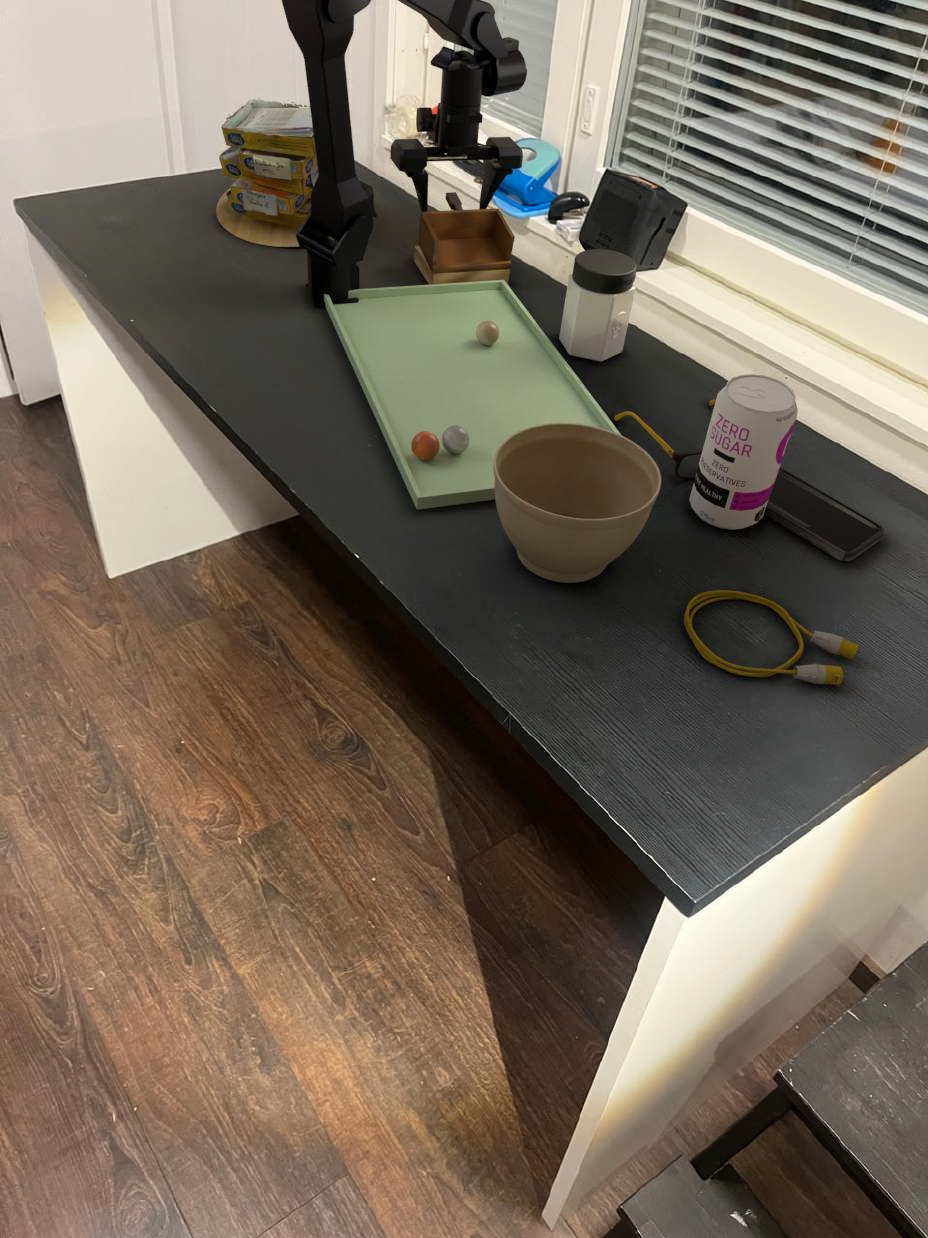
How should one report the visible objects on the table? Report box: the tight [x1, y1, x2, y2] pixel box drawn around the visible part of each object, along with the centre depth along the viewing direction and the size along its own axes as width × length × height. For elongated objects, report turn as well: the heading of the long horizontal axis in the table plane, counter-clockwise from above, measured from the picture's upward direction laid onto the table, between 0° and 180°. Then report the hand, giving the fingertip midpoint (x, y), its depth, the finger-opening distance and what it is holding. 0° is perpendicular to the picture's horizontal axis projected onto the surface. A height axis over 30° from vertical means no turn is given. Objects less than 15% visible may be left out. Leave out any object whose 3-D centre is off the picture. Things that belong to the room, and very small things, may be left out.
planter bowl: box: [493, 423, 662, 584], centre depth 95 cm, size 16×16×11 cm
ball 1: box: [411, 431, 440, 460], centre depth 107 cm, size 3×3×3 cm
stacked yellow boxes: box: [215, 97, 335, 248], centre depth 150 cm, size 25×25×17 cm
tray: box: [324, 280, 623, 510], centre depth 122 cm, size 27×49×2 cm, turn 18°
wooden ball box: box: [417, 191, 516, 274], centre depth 142 cm, size 12×13×5 cm
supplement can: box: [688, 373, 799, 531], centre depth 101 cm, size 8×8×15 cm
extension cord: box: [683, 589, 859, 686], centre depth 90 cm, size 12×16×2 cm
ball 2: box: [442, 425, 470, 454], centre depth 109 cm, size 3×3×3 cm
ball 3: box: [476, 320, 500, 345], centre depth 128 cm, size 3×3×3 cm
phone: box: [763, 467, 885, 563], centre depth 106 cm, size 8×1×15 cm
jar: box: [558, 248, 638, 363], centre depth 128 cm, size 9×8×12 cm
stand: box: [413, 245, 511, 286], centre depth 145 cm, size 12×10×2 cm
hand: (452, 213), depth 144 cm, fingers open, 9 cm apart
